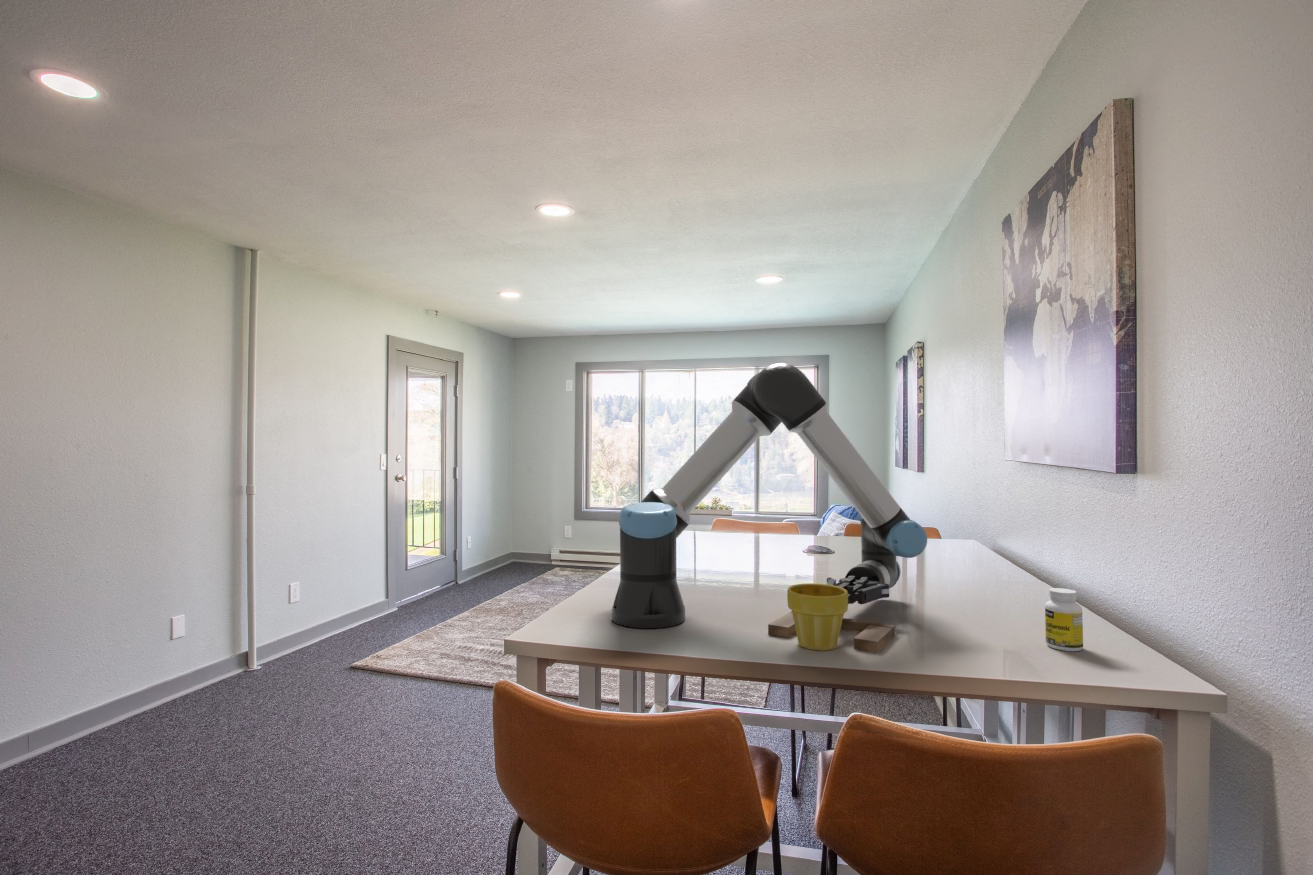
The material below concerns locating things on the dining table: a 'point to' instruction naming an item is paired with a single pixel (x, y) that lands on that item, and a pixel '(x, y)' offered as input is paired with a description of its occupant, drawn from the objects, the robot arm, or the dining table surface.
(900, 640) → the dining table surface
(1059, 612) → the supplement bottle
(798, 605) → the plant pot
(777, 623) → the brown u-shaped block
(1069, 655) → the dining table surface
